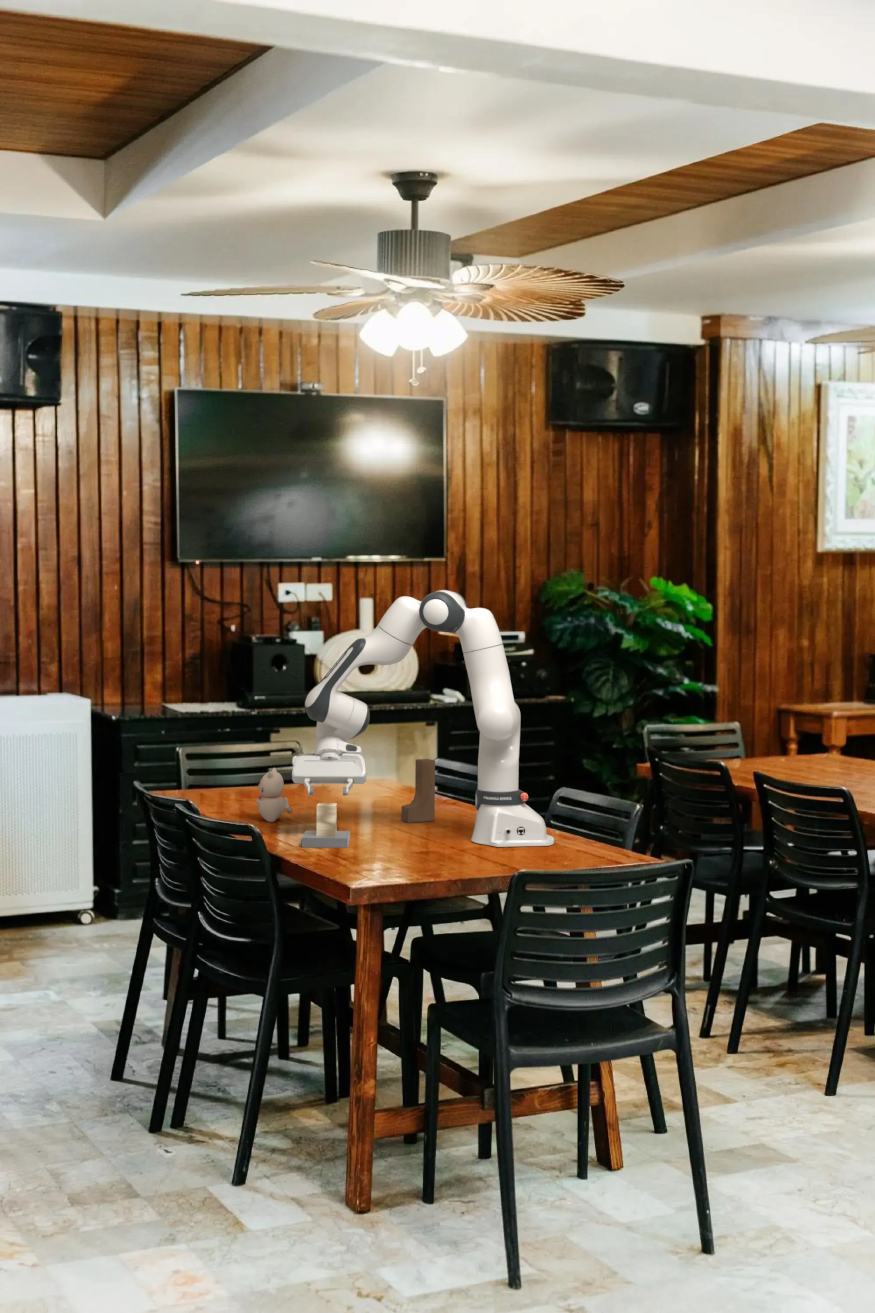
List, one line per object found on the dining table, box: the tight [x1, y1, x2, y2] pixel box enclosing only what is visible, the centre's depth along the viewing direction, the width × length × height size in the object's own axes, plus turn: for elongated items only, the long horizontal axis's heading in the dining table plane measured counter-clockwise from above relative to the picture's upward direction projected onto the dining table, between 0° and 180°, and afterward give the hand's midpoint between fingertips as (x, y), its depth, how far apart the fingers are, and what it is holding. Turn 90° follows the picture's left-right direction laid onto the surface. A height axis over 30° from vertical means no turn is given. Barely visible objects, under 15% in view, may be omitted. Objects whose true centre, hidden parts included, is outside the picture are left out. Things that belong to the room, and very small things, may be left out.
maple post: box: [316, 802, 338, 836], centre depth 409 cm, size 5×5×8 cm
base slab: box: [301, 830, 351, 849], centre depth 409 cm, size 12×12×2 cm
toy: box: [255, 767, 294, 823], centre depth 449 cm, size 12×10×15 cm
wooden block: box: [400, 758, 436, 824], centre depth 449 cm, size 9×4×18 cm, turn 118°
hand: (328, 794), depth 413 cm, fingers open, 8 cm apart
